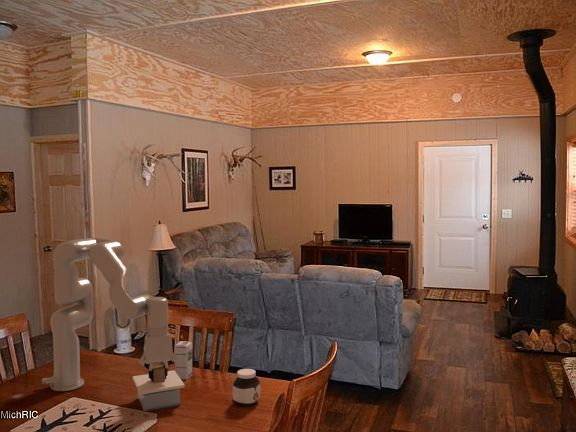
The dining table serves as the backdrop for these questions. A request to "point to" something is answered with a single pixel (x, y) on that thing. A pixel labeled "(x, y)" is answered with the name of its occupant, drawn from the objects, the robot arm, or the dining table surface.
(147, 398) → the dish
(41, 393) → the dining table surface
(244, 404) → the spread jar
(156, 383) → the lid
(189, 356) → the syrup box
